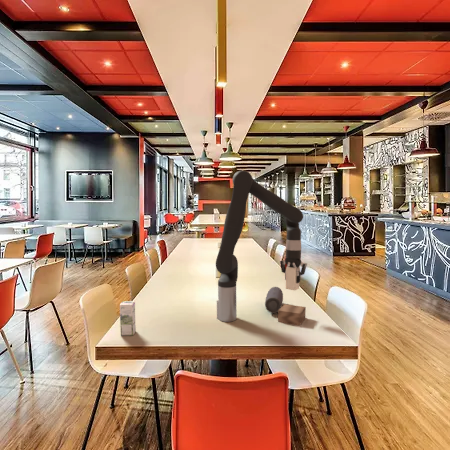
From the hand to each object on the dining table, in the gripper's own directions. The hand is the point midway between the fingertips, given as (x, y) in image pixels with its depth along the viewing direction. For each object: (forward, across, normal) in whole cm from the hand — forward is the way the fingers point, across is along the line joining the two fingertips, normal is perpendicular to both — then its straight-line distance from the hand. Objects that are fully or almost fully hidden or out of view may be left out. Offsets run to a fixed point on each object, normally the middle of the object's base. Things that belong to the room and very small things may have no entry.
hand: (292, 281), depth 174 cm
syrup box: (+20, -53, -60) cm, 83 cm away
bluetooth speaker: (+19, -15, +9) cm, 26 cm away
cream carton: (+3, 0, 0) cm, 3 cm away
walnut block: (+19, +1, -2) cm, 19 cm away
